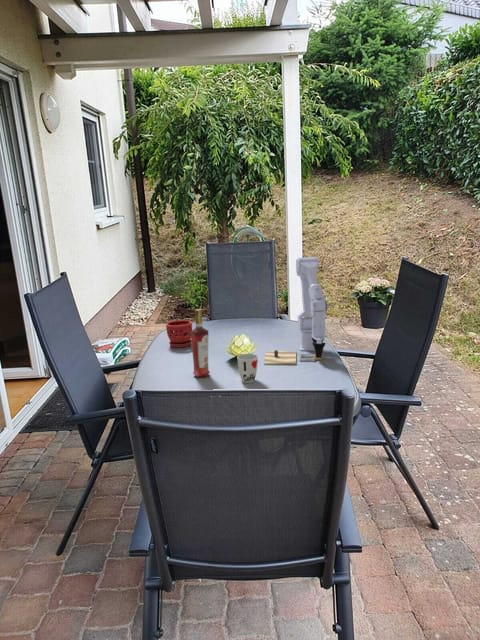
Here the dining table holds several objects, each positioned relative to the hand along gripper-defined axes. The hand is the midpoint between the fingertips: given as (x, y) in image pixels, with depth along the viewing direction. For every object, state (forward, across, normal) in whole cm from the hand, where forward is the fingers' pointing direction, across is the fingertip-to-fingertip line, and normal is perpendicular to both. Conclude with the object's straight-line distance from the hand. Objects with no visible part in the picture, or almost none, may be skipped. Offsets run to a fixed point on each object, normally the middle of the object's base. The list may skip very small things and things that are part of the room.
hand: (318, 354), depth 215 cm
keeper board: (+2, 0, +17) cm, 17 cm away
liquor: (+2, -24, +49) cm, 55 cm away
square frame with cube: (+2, 0, +4) cm, 4 cm away
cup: (+2, -29, +29) cm, 41 cm away
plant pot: (+2, +21, +69) cm, 72 cm away
